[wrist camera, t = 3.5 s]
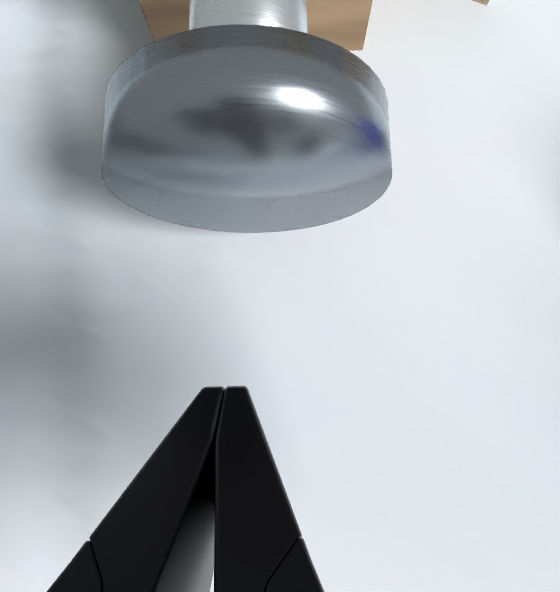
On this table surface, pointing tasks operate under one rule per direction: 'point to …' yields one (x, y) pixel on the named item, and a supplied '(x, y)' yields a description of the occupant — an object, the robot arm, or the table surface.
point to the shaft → (246, 123)
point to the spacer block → (482, 1)
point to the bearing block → (320, 19)
